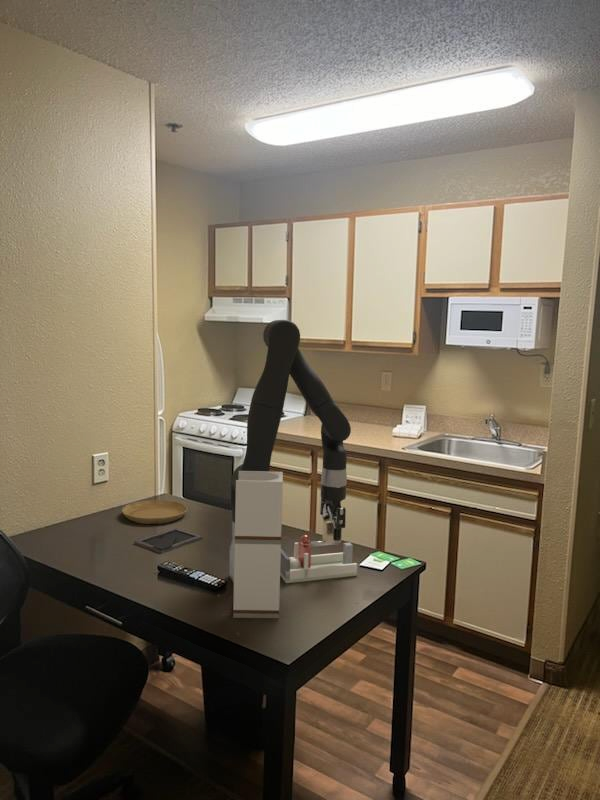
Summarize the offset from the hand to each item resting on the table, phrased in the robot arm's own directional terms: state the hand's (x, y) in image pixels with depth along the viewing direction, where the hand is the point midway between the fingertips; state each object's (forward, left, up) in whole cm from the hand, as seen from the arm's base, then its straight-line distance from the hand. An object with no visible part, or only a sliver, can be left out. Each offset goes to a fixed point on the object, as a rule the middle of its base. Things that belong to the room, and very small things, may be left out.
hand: (331, 535), depth 182 cm
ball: (-12, 0, -8) cm, 14 cm away
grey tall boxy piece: (-28, -18, -11) cm, 35 cm away
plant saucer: (-46, +66, -12) cm, 81 cm away
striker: (-4, 0, -9) cm, 10 cm away
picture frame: (-44, +37, -12) cm, 58 cm away
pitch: (-4, 0, -11) cm, 12 cm away
